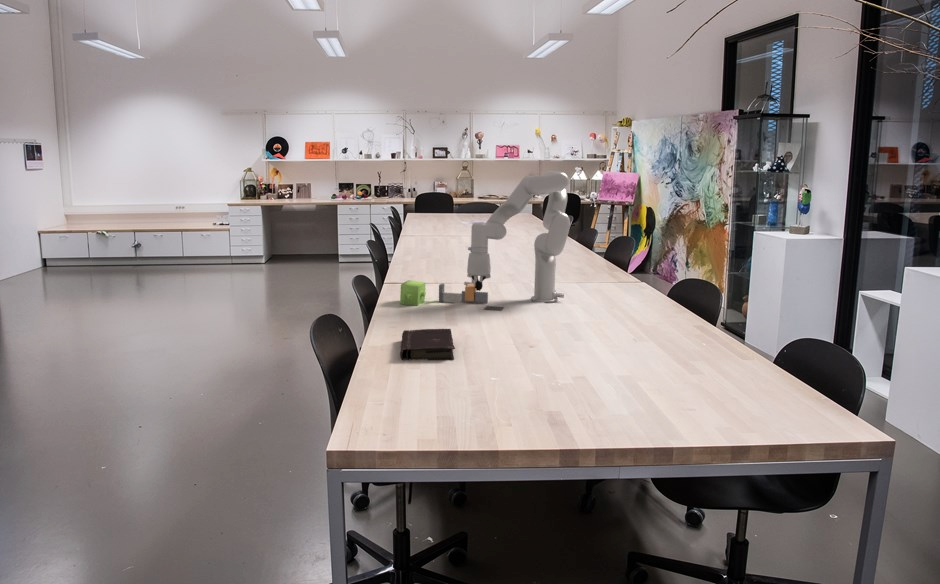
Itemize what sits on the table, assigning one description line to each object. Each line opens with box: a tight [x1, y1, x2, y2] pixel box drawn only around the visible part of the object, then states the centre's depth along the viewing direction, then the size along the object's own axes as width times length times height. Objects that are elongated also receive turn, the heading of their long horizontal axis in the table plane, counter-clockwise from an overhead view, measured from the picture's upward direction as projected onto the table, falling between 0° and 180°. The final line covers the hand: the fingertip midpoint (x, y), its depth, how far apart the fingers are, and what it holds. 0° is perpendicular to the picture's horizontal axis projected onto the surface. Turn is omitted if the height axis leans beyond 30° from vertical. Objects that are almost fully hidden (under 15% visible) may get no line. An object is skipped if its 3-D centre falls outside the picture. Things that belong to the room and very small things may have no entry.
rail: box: [438, 283, 489, 304], centre depth 324 cm, size 22×5×8 cm, turn 77°
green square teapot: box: [399, 279, 427, 306], centre depth 322 cm, size 18×10×10 cm, turn 165°
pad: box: [482, 305, 505, 312], centre depth 312 cm, size 8×8×1 cm
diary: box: [399, 328, 456, 361], centre depth 246 cm, size 19×25×5 cm
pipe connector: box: [463, 278, 483, 288], centre depth 342 cm, size 10×10×10 cm
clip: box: [464, 285, 477, 301], centre depth 324 cm, size 4×6×6 cm
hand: (478, 290), depth 322 cm, fingers closed
